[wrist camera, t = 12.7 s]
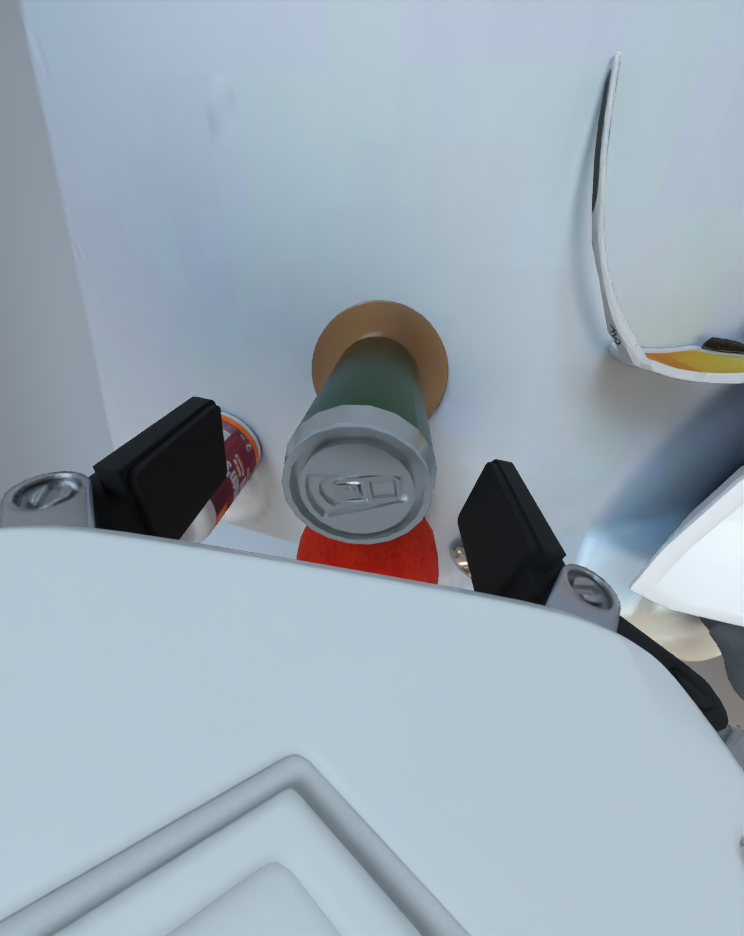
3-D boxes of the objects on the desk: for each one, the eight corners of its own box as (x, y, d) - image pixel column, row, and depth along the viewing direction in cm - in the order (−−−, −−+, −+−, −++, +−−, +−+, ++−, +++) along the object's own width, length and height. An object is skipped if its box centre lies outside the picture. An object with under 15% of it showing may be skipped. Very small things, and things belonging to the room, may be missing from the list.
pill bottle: (263, 479, 26) (187, 601, 16) (193, 465, 25) (74, 581, 16) (262, 416, 22) (164, 526, 13) (179, 399, 22) (18, 499, 13)
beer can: (414, 326, 18) (436, 406, 8) (421, 409, 20) (443, 544, 11) (328, 341, 18) (247, 430, 9) (346, 419, 21) (302, 552, 11)
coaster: (308, 421, 22) (306, 423, 22) (319, 283, 17) (318, 284, 17) (423, 446, 23) (423, 449, 22) (468, 320, 17) (470, 321, 17)
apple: (296, 485, 26) (232, 625, 16) (392, 433, 22) (387, 572, 12) (361, 551, 30) (343, 693, 20) (449, 516, 27) (481, 669, 17)
